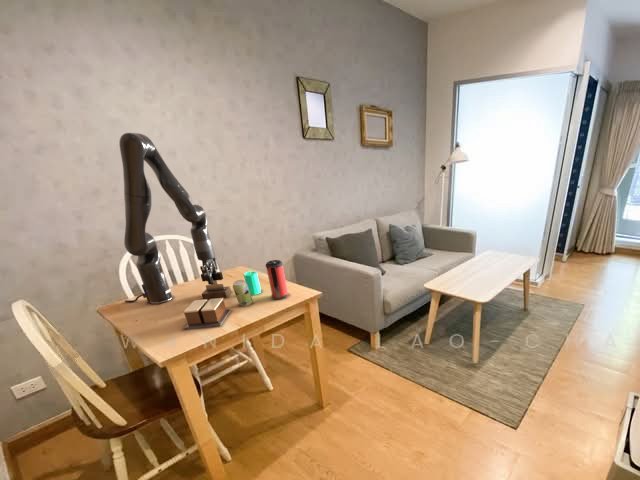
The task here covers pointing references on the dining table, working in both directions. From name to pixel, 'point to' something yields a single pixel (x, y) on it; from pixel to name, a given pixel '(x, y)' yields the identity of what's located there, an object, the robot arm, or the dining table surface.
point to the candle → (252, 282)
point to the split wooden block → (206, 313)
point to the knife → (214, 286)
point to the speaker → (277, 279)
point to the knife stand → (216, 293)
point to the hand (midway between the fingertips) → (213, 281)
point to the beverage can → (242, 292)
